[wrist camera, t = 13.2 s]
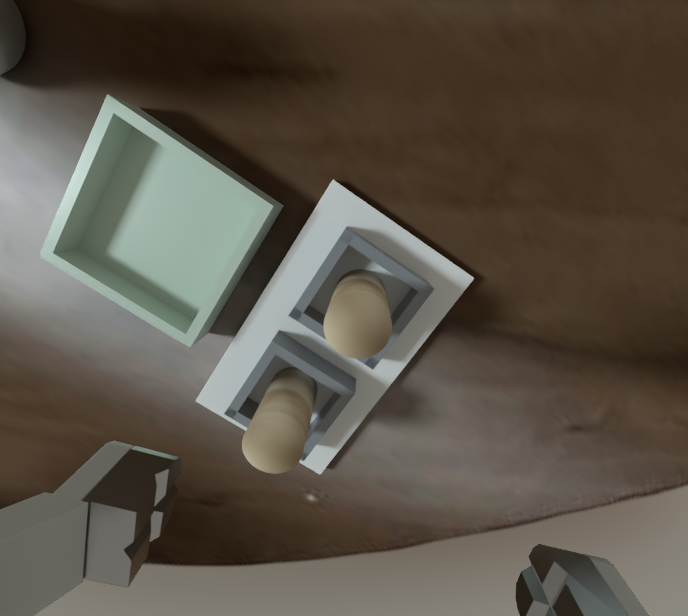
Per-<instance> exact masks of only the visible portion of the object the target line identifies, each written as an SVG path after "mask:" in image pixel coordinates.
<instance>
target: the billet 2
mask: <svg viewBox="0 0 688 616" xmlns="http://www.w3.org/2000/svg"><path fill="white" fill-rule="evenodd" d="M391 333H392V321H391V316H390V311H389V306H388V301H387V296H386V291H385V287H384V284H383V282H382V281H381V279H380V278H379V277H378V276H377V275H376V274H374V273H373V272H371V271H368V270H364V269H356V270H352V271H349V272H347V273H346V274H344V275H343V276H342V277H341V278H340V279H339V281H338V283H337V285H336V287H335V290H334V293H333V296H332V299H331V301H330V304H329V307H328V310H327V312H326V315H325V318H324V334H325V337H326V339H327V341H328V343H329V344H330V346H331V347H332V348H333V349H334V350H335V351H336V352H338V353H339V354H341V355H343V356H345V357H348V358H353V359H364V358H368V357H371V356H373V355H375V354H377V353H379V352H380V351H381V350H382V349H383V348H384V347H385V346H386V345H387V343H388V341H389V339H390V337H391Z"/></svg>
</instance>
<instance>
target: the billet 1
mask: <svg viewBox="0 0 688 616" xmlns="http://www.w3.org/2000/svg"><path fill="white" fill-rule="evenodd" d="M316 396H317V384H316V381H315V379H314V378H312V377H311V376H309V375H307V374H306V373H304V372H303V371H301V370H299V369H298V368H296V367H289V368H285V369H282V370H281V371H279V372H278V373H277V374H276V375H275V376H274V378H273V379H272V381H271V383H270V385H269V387H268V389H267V391H266V393H265V395H264V397H263V399H262V401H261V403H260V405H259V407H258V409H257V411H256V413H255V415H254V417H253V418H252V420H251V422H250V424H249V426H248V428H247V430H246V432H245V434H244V437H243V440H242V449H243V453H244V455H245V457H246V459H247V460H248V461H249V462H250V463H251V464H252V465H253V466H254V467H256V468H257V469H259V470H261V471H264V472H267V473H283V472H286V471H289V470H291V469H292V468H294V467H295V466H296V465H297V464H298V463H299V461H300V460H301V457H302V454H303V450H304V446H305V442H306V438H307V433H308V429H309V425H310V421H311V417H312V413H313V408H314V404H315V400H316Z"/></svg>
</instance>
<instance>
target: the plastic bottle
mask: <svg viewBox="0 0 688 616" xmlns="http://www.w3.org/2000/svg"><path fill="white" fill-rule="evenodd" d="M25 44H26V31H25V26H24V22H23V19H22V16H21V14H20V11H19V9H18V7H17V5H16V4H15V2H14V0H0V75H1V74H3V73H5V72H7V71H9V70H10V69H12V68H13V67H15V66H16V64H17V63H18V62H19V61H20V59H21V57H22V56H23V53H24V50H25Z"/></svg>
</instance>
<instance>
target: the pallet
mask: <svg viewBox="0 0 688 616" xmlns="http://www.w3.org/2000/svg"><path fill="white" fill-rule="evenodd" d="M356 269H364V270H368V271H371V272H373V273H374V274H376V275H377V276H378V277H379V278H380V279H381V281H382V282H383V284H384V287H385V291H386V296H387V301H388V306H389V311H390V316H391V321H392V333H391V337H390V339H389V341H388V343H387V345H386V346H385V347H384V348H383V349H382V350H381V351H380V352H379V353H377V354H375V355H373V356H371V357H368V358H364V359H353V358H348V357H345V356H343V355H341V354H339V353H338V352H336V351H335V350H334V349H333V348H332V347H331V346H330V344H329V343H328V341H327V339H326V337H325V334H324V318H325V315H326V312H327V310H328V307H329V304H330V301H331V299H332V296H333V293H334V290H335V287H336V285H337V283H338V281H339V279H340V278H341V277H342V276H343V275H344V274H346V273H347V272H349V271H352V270H356ZM473 279H474V277H472V276H471V275H469V274H468V273H466V272H465V271H464V270H462V269H461V268H459V267H458V266H456V265H455V264H453V263H452V262H451V261H449V260H448V259H446V258H445V257H443V256H442V255H441V254H439V253H438V252H436V251H435V250H433V249H432V248H431V247H429V246H428V245H426V244H425V243H423V242H422V241H420V240H419V239H418V238H416V237H415V236H413V235H412V234H410V233H409V232H408V231H406V230H405V229H403V228H402V227H400V226H399V225H398V224H396V223H395V222H393V221H392V220H390V219H389V218H387V217H386V216H385V215H383V214H382V213H380V212H379V211H377V210H376V209H375V208H373V207H372V206H370V205H369V204H367V203H366V202H365V201H363V200H362V199H360V198H359V197H357V196H356V195H354V194H353V193H352V192H350V191H349V190H347V189H346V188H344V187H343V186H342V185H340V184H339V183H337V182H336V181H334V180H332V182H331V183H330V185H329V187H328V188H327V190H326V191H325V193H324V195H323V196H322V198H321V199H320V201H319V203H318V204H317V206H316V207H315V209H314V211H313V212H312V214H311V216H310V217H309V219H308V220H307V222H306V224H305V225H304V227H303V228H302V230H301V232H300V233H299V235H298V236H297V238H296V240H295V241H294V243H293V245H292V246H291V248H290V249H289V251H288V253H287V254H286V256H285V257H284V259H283V261H282V262H281V264H280V265H279V267H278V269H277V270H276V272H275V274H274V275H273V277H272V278H271V280H270V282H269V283H268V285H267V286H266V288H265V290H264V291H263V293H262V295H261V296H260V298H259V299H258V301H257V303H256V304H255V306H254V307H253V309H252V311H251V312H250V314H249V315H248V317H247V319H246V320H245V322H244V324H243V325H242V327H241V328H240V330H239V332H238V333H237V335H236V336H235V338H234V340H233V341H232V343H231V344H230V346H229V348H228V349H227V351H226V353H225V354H224V356H223V357H222V359H221V361H220V362H219V364H218V365H217V367H216V369H215V370H214V372H213V373H212V375H211V377H210V378H209V380H208V382H207V383H206V385H205V386H204V388H203V390H202V391H201V393H200V394H199V396H198V398H197V399H196V402H198V403H200V404H201V405H203V406H205V407H206V408H208V409H210V410H211V411H213V412H215V413H216V414H218V415H220V416H222V417H223V418H225V419H227V420H228V421H230V422H232V423H233V424H235V425H237V426H238V427H240V428H242V429H244V430H245V431H246V430H247V428H248V426H249V424H250V422H251V420H252V418H253V417H254V415H255V413H256V411H257V409H258V407H259V405H260V403H261V401H262V399H263V397H264V395H265V393H266V391H267V389H268V387H269V385H270V383H271V381H272V379H273V378H274V376H275V375H276V374H277V373H278V372H279V371H281V370H282V369H285V368H289V367H296V368H298V369H299V370H301V371H303V372H304V373H306V374H307V375H309V376H311V377H312V378H314V379H315V381H316V384H317V396H316V400H315V404H314V408H313V413H312V417H311V421H310V425H309V429H308V433H307V438H306V442H305V446H304V450H303V454H302V457H301V460H300V461H299V463H301V464H303V465H304V466H306V467H308V468H310V469H311V470H313V471H315V472H316V473H318V474H321V473H322V472H323V471H324V469H325V468H326V467H327V465H328V464H329V463H330V462H331V460H332V459H333V458H334V457H335V455H336V454H337V453H338V451H339V450H340V449H341V448H342V446H343V445H344V444H345V443H346V441H347V440H348V439H349V437H350V436H351V435H352V434H353V432H354V431H355V430H356V428H357V427H358V426H359V425H360V423H361V422H362V421H363V420H364V418H365V417H366V416H367V414H368V413H369V412H370V411H371V409H372V408H373V407H374V406H375V404H376V403H377V402H378V400H379V399H380V398H381V397H382V395H383V394H384V393H385V391H386V390H387V389H388V388H389V386H390V385H391V384H392V383H393V381H394V380H395V379H396V377H397V376H398V375H399V374H400V372H401V371H402V370H403V369H404V367H405V366H406V365H407V363H408V362H409V361H410V360H411V358H412V357H413V356H414V355H415V353H416V352H417V351H418V349H419V348H420V347H421V346H422V344H423V343H424V342H425V340H426V339H427V338H428V337H429V335H430V334H431V333H432V332H433V330H434V329H435V328H436V326H437V325H438V324H439V323H440V321H441V320H442V319H443V318H444V316H445V315H446V314H447V312H448V311H449V310H450V309H451V307H452V306H453V305H454V303H455V302H456V301H457V300H458V298H459V297H460V296H461V295H462V293H463V292H464V291H465V289H466V288H467V287H468V286H469V284H470V283H471V282H472V281H473Z"/></svg>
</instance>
